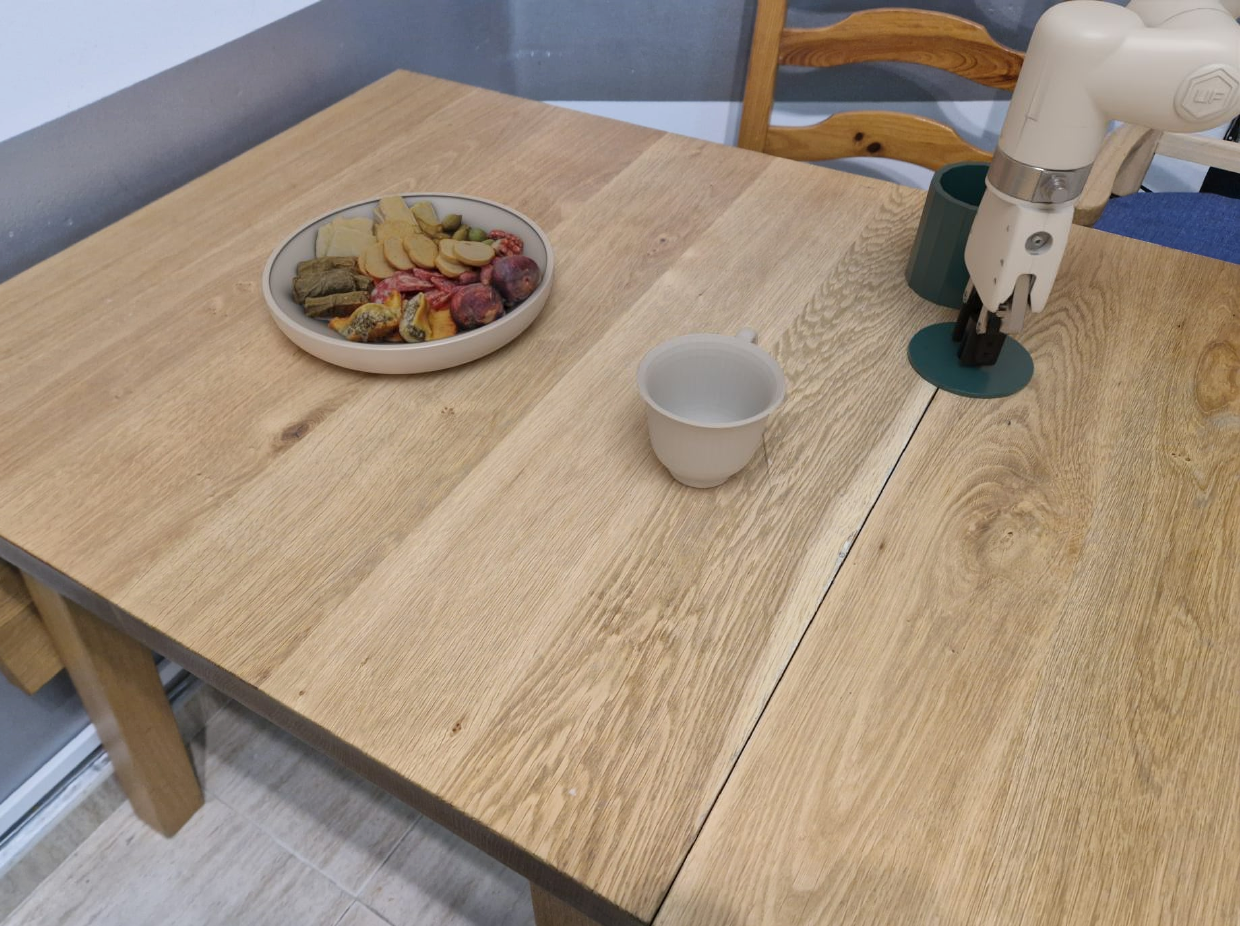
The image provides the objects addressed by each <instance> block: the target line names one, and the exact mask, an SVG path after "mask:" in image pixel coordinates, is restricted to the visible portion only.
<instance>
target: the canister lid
mask: <svg viewBox="0 0 1240 926" xmlns="http://www.w3.org/2000/svg"><path fill="white" fill-rule="evenodd" d="M980 313H981V310H975V311H973V312H972V313H971V314H970V317H969V320H968V323H967V325H966V328H965V331H964V334H963V337H962V340H961V342H955V341H953V339H952V337H951V335H952V332H953V329H954V326H955V323H956V321H944V322H937V323H933V324H930V325H928V326H925V327H922V328H921V329H920V330H917V332H916V333H915V334H914V335H913V336H912V337H911V339H910V341H909V344H908V347H907V357H908V360H909V363H910V365H911V367H912V368H913V370H914V371H915V372H916V373H917V374H918V375H919V376H920V377H922V378H923V379H924V380H925V381H927V382H928V383H930V384H931V385H933V386H935V387H937V388H939V389H941V390H943V391H946V392H948V393H951V394H954V395H957V396H962V397H967V398H974V399H998V398H999V399H1000V398H1004V397H1009V396H1012V395H1014V394H1017V393H1018V392H1020V391H1022V390H1023V389H1025V388H1026V387H1027V386H1028V385H1029V383H1030V382H1031V380H1032V378H1033V375H1034V372H1035V365H1034V360H1033V358H1032V355H1031V354H1030V353H1029V351H1028V349H1026V347H1024V346H1023V345H1022V344H1021V343H1020V342H1019V341H1017V340H1016V339H1015V338H1013V337H1012V336H1011V335H1007V336H1006V339H1005V341H1004V344H1003V347H1002V349H1001V352H1000V354H999V357H998V359H997V362H996V364H995V365H992V366H978V365H963V364H962V363H961V360H960V359H961V356H962V353H963V350H964V347H965V345H966V342H967V339H968V336H969V333H970V331H971V328H972V327H977V323H978V320H979V316H980ZM993 317H999V316H998V314H997V313H996V314H995V313H992V315H991V318H993ZM991 318H990V319H991Z"/></svg>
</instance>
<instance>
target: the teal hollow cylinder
mask: <svg viewBox="0 0 1240 926" xmlns="http://www.w3.org/2000/svg"><path fill="white" fill-rule="evenodd" d="M990 164H991V161H975V160H974V161H973V160H972V161H968V160H967V161H964V160H963V161H958V162H954V163H948V164H945V165H944V166H943V167H940V168H939V169H936V170H935V171H934V173H933V176H932V177H931V180H930V182H929V187H928V190H927V193H926V198H925V201H924V205H923V208H922V210H921V211H922V212H921V215H920V219H919V222H918V226H917V230H916V232H915V237H914V241H913V243H912V248H911V251H910V255H909V258H908V260H907V261H908V262H907V265H906V269H905V272H904V278H905V281H906V283H907V286H908V287H909V288H910V289H911V290H912V291H913V292H914V293H915V294H916V295H917V296H918V297H920V298H922V299H924V300H926V301H928V302H930V303H932V304H934V305H937V306H941V307H945V308H949V309H953V310H959V311H960V309H961V306H962V304H968V303H965V302H964V300H963V295H964V292H965V289H966V287H967V284H968V281H969V279H970V277H969V271H968V269H967V266H966V263H965V249H966V245H967V241H968V237H969V234H970V231H971V228H972V225H973V222H974V219H975V216H976V214H977V211H978V208H979V206H980V203H981V201H982V198H983V196H984V193H985V191H986V189H987V186H986V183H985V179H986V176H987V173H988V170H989V167H990Z"/></svg>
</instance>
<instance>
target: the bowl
mask: <svg viewBox="0 0 1240 926" xmlns="http://www.w3.org/2000/svg"><path fill="white" fill-rule="evenodd" d="M261 276H262V277H261V286H262V287H261V288H262V293H263V294H262V295H263V297H264V301H265V303H266V307H267V309H268V312H269V314H270V315H271V317H272V319H273V321H274V322H275V324H276V325H277V326H278V327H279V329H280V330H281V331H282V333H283V334H284V335H285V336H286V337H287V338H288V339H289V340H290V341H292V343H294V344H295V345H296V346H298V347H299V348H301V349H302V350H303V351H305V352H307V353H308V354H309V355H312V356H314V357H315V358H318V359H320V360H321V361H325V362H327V363H329V364H331V365H335V366H338V367H340V368H345V369H349V370H353V371H359V372H365V373H371V374H372V373H373V374H383V375H384V374H385V375H411V374H421V373H428V372H435V371H441V370H446V369H450V368H454V367H457V366H460V365H465V364H467V363H470V362H472V361H473V362H474V361H475V360H478V359H480V358H483V357H485V356H487V355H489V354H491V353H493V352H495V351H497V350H499V349H500V348H502V347H505V346H506V345H508V344H509V343H510V342H511V341H513V340H514V339H516V338H517V337H519V336H520V335H521V334H522V333H523V332H525V330H526V329H527V328H529V326H530V325H531V324H532V323H533V322H534V321H535V320H536V318H537V317H538V316H539V314H540V313H541V311H542V310H543V308H544V306H545V305H546V303H547V301H548V298H549V297H550V294H551V291H552V287H553V283H554V277H555V254H554V249H553V245H552V243H551V241H550V239H549V238H548V236H547V234H546V233H545V232H544V230H543V229H542V228H541V227H540V226H539V225H538V224H537V222H535V221H534V220H532V219H531V218H530V217H529V216H527V215H526V214H524V213H522V212H520V211H518V210H517V209H514V208H513V207H511V206H509V205H506V204H504V203H500V202H498V201H495V200H492V199H489V198H484V197H480V196H475V195H469V194H464V193H455V192H445V191H444V192H443V191H413V192H401V193H400V192H399V193H393V194H386V195H379V196H373V197H369V198H366V199H361V200H357V201H354V202H351V203H347V204H344V205H341V206H339V207H336V208H333V209H331V210H329V211H326V212H323V213H321V214H320V215H317V216H316V217H314V218H311V219H310V220H308V221H307V222H305V223H303V224H301V225H300V226H299V227H297V228H295V229H294V230H293V231H292V232H290V233H289V234H288V235H287V236H285V238H284V239H282V240H281V241H280V242H279V243H278V245H277V246H276V247H275V248H274V250H272V252H271V254H270V255H269V257H268V259H267V261H266V262H265V265H264V268H263V271H262V275H261Z"/></svg>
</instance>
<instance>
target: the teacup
mask: <svg viewBox="0 0 1240 926" xmlns="http://www.w3.org/2000/svg"><path fill="white" fill-rule="evenodd" d="M758 344H759V335H758V332H757V331H756V330H755V329H754V328H751V327H746V326H744V327H741V328H740V329H739V330H738V331H737V332H736V334H735V336H733V335H729V334H728V335H727V334H723V333H714V332H697V333H696V332H695V333H688V334H684V335H679V336H676V337H673V338H670V339H667V340H664V341H663V342H661V343H658V344H657V345H655V346H654V347H652V348H651V349H649V350H648V351H647V352H646V353H645V354H644V355H643V357H642V358H641V359H640V361H639V362H638V365H637V367H636V371H635V381H636V386H637V389H638V391H639V393H640V395H641V397H642V398H643V399H644V400H645V403H646V404H645V405H646V414H647V415H646V416H647V425H648V426H647V427H648V433H649V438H650V439H649V440H650V444H651V446H652V449H653V452H654V454H655V456H656V457H657V459H658V460H659V461H660V462H661V464H663V466H665V468H667V469H668V472H669V473H670V475H671V476H672V477H673V478H674V479H675V480H676V481H677V482H679V483H681V484H683V485H685V486H687V487H692V488H697V489H710V488H715V487H718V486H720V485H722V484H724V483H725V482H726V481H728V480H729V479H730V477H731V476H733V475H735V474H736V473H738V472H739V471H741V470H742V469H744V467H746V466H747V465H748V464H749V463H750V461H751V460H752V458H753V457H754V455H755V453H756V451H757V449H758V447H759V445H760V443H761V440H762V436H763V434H764V431H765V429H766V425H767V422H768V419H769V416H770V414H772V412H774V411H775V410H776V409H777V408H778V407H779V405H780V404H782V402H783V400H784V398H785V395H786V392H787V379H786V374H785V372H784V369H783V368H782V367H781V364H779V362H778V361H777V360H776V359H775V358H774V357H773V356H772V355H771V353H769V352H767V351H766V350H765V349H764V348H762V347H760V346H758Z"/></svg>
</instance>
